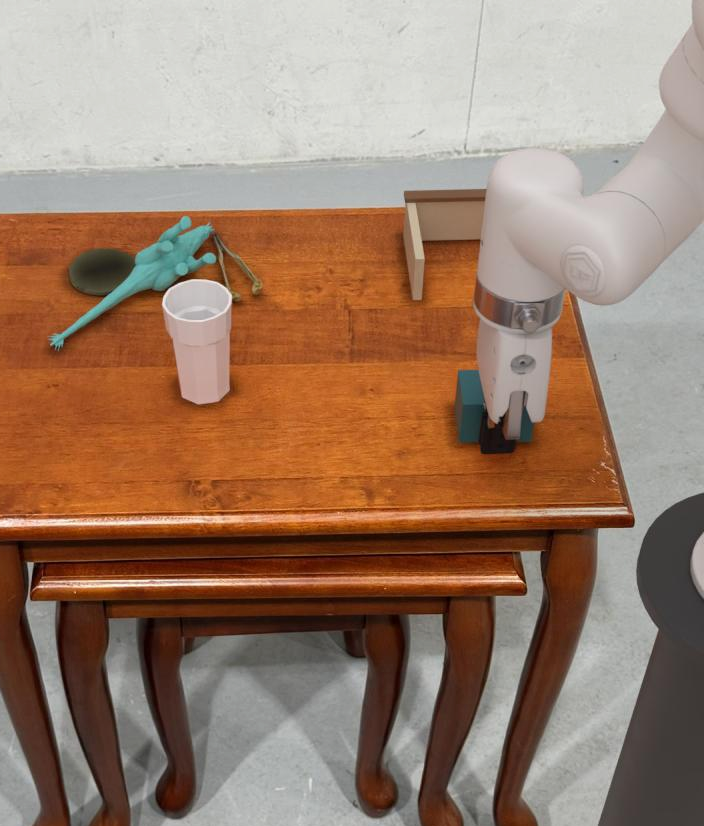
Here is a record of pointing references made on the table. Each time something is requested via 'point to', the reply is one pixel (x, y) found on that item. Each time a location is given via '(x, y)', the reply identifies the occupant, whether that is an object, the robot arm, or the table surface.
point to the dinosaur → (154, 269)
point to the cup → (200, 337)
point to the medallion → (100, 270)
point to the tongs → (238, 260)
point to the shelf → (438, 224)
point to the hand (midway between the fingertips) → (495, 447)
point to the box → (478, 409)
